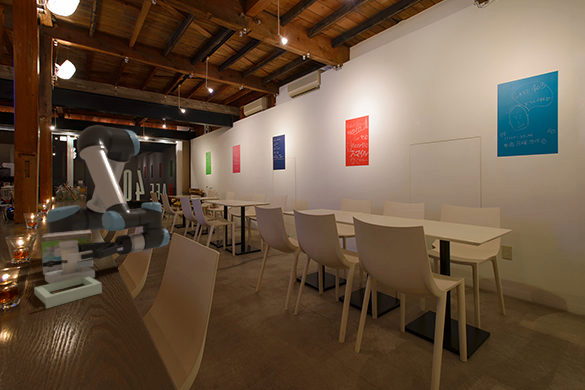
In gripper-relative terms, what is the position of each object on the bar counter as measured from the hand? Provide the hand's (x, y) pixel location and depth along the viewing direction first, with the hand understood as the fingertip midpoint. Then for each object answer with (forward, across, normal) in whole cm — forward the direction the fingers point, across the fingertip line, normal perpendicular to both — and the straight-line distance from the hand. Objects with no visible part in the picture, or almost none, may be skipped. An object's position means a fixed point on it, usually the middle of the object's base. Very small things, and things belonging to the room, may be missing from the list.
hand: (61, 256), depth 93 cm
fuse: (-2, 0, -8) cm, 9 cm away
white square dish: (-2, 0, -9) cm, 10 cm away
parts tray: (+2, -14, -9) cm, 17 cm away
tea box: (-6, +17, -10) cm, 21 cm away
